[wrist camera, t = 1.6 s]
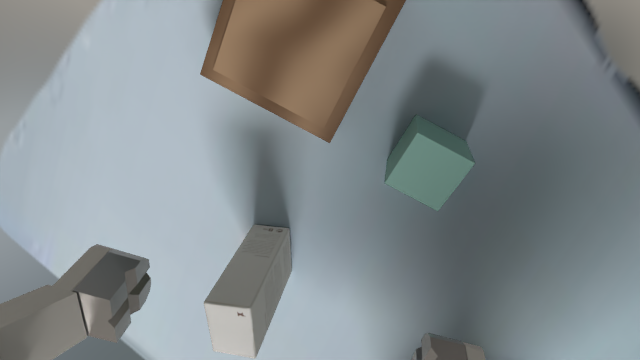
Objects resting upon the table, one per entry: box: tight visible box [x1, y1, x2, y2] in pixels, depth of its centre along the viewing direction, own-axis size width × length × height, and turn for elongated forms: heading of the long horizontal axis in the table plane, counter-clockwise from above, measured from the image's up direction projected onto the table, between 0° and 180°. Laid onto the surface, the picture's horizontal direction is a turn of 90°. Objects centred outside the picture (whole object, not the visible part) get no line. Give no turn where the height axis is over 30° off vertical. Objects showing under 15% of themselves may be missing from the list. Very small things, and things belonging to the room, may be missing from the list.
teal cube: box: [385, 115, 475, 211], centre depth 33 cm, size 5×5×5 cm
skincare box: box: [204, 225, 292, 358], centre depth 38 cm, size 6×4×12 cm
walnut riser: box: [200, 0, 406, 143], centre depth 31 cm, size 12×12×4 cm
